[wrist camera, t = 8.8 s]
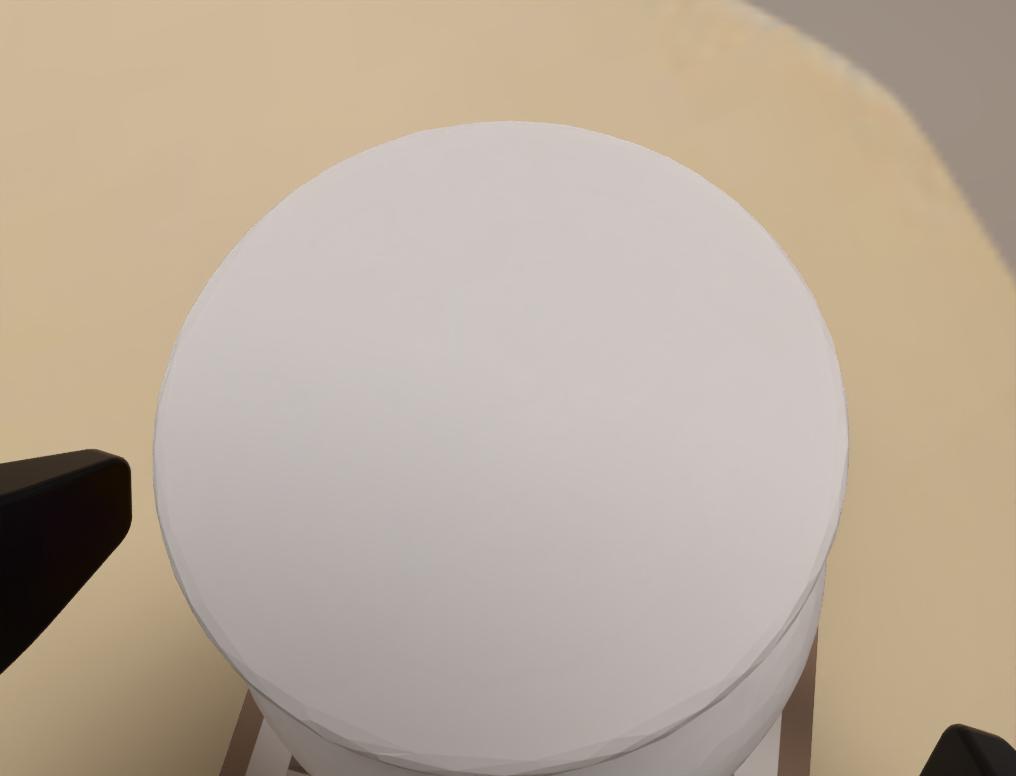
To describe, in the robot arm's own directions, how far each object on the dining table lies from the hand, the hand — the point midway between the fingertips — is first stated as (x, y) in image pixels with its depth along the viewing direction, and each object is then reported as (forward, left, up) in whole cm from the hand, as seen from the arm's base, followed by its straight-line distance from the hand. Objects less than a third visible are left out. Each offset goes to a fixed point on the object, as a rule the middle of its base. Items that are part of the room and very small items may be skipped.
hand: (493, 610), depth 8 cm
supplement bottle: (+1, 0, -9) cm, 9 cm away
